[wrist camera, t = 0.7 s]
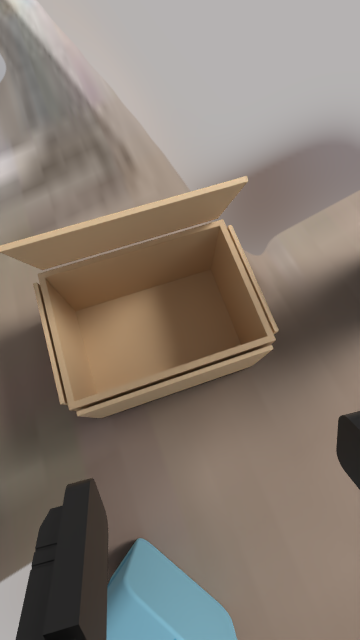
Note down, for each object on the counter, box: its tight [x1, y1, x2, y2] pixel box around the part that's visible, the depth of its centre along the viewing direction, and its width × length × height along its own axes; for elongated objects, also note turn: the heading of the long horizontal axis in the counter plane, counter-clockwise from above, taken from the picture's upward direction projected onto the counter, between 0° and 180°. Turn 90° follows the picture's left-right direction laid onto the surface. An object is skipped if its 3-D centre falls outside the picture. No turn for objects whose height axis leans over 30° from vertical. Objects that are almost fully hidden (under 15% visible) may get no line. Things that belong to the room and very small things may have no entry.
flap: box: [0, 176, 248, 270], centre depth 29 cm, size 19×1×10 cm, turn 109°
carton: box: [33, 220, 279, 418], centre depth 38 cm, size 21×15×11 cm
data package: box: [106, 538, 237, 640], centre depth 29 cm, size 12×4×12 cm, turn 54°
